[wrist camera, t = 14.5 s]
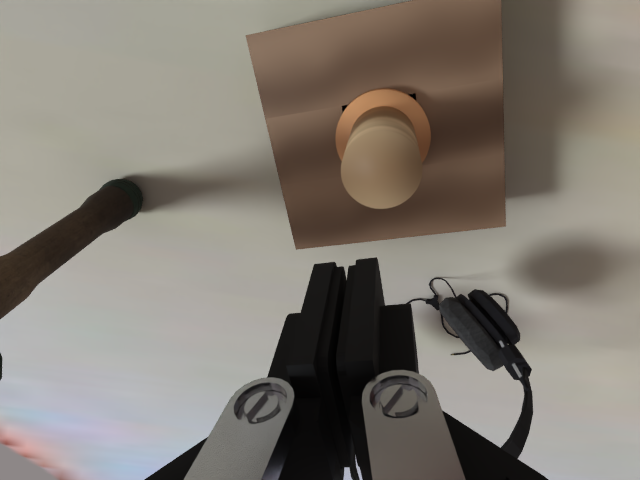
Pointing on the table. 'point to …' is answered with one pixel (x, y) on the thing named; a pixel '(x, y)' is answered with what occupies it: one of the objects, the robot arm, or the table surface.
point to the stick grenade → (64, 241)
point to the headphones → (487, 349)
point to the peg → (382, 147)
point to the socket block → (396, 73)
